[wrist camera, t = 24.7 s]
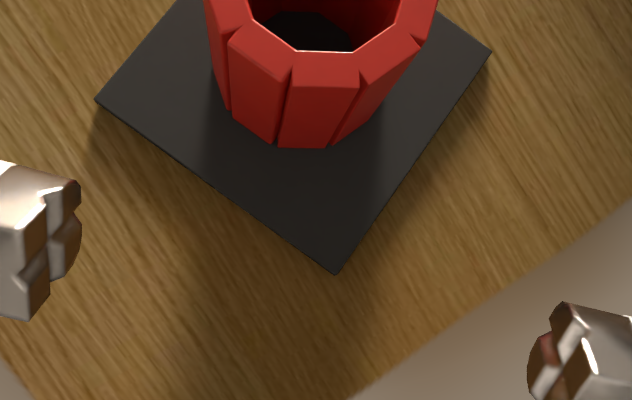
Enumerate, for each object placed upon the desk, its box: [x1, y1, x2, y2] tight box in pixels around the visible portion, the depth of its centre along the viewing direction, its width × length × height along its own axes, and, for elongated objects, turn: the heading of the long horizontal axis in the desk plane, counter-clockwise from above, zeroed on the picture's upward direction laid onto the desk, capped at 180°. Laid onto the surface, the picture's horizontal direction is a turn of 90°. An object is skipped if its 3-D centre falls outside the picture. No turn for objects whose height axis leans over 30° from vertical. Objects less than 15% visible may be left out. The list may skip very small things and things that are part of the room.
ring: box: [203, 0, 438, 148], centre depth 19 cm, size 6×7×7 cm
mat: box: [94, 0, 492, 275], centre depth 23 cm, size 11×11×1 cm
